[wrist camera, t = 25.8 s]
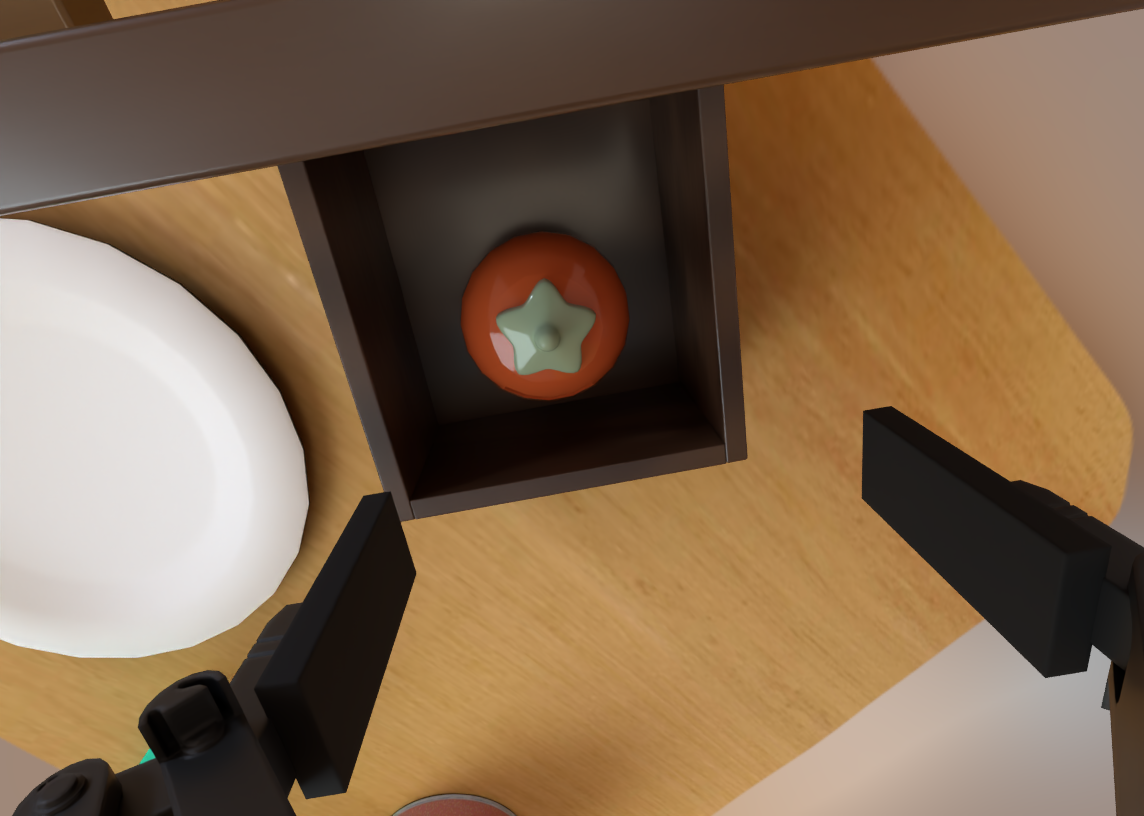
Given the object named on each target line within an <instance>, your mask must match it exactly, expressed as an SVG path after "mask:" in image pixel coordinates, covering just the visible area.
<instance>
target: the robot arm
mask: <svg viewBox="0 0 1144 816" xmlns="http://www.w3.org/2000/svg"><path fill="white" fill-rule="evenodd" d="M862 499H863V500H864V501H865V502H866V503H867V504H868V505H869V506H870V507H871V508H872V509H873V510H874V511H875V512H876V513H877V514H878V515H879V516H881V517H882V518H883V519H884V520H885V521H886V522H887V523H888V524H889V525H890V526H891V527H892V528H893V529H894V530H895V531H896V532H897V533H898V534H899V535H900V536H901V537H902V538H903V539H904V540H905V541H906V542H907V543H908V544H909V545H910V546H911V547H912V548H913V549H914V550H915V551H916V552H917V553H918V554H919V555H920V556H921V557H922V558H923V559H924V560H925V561H926V562H927V563H928V564H930V565H931V566H932V567H933V568H934V569H935V570H936V571H937V572H938V573H939V574H940V575H941V576H942V577H943V578H944V579H945V580H946V581H947V582H948V583H949V584H950V585H951V586H952V587H953V588H954V589H955V590H956V591H957V592H958V593H959V594H960V595H961V596H962V597H963V598H964V599H965V600H966V601H967V602H968V603H969V604H970V605H971V606H972V607H973V608H974V609H975V610H976V611H978V612H979V613H980V614H981V615H982V616H983V617H984V618H985V619H986V620H987V621H988V622H989V623H990V624H991V625H992V626H993V627H994V628H995V629H996V630H997V631H998V632H999V633H1000V634H1001V635H1002V636H1003V637H1004V638H1005V639H1006V640H1007V641H1008V642H1009V643H1010V644H1011V645H1012V646H1013V647H1014V648H1015V649H1016V650H1017V651H1018V652H1019V653H1020V654H1022V656H1023V657H1024V658H1025V659H1027V660H1028V661H1029V662H1030V663H1031V664H1032V665H1033V666H1034V667H1035V668H1036V669H1037V670H1038V671H1039V672H1040V673H1041V674H1042V675H1043V676H1044V677H1045V678H1048V677H1054V676H1060V675H1066V674H1073V673H1079V672H1084V671H1087V668H1088V663H1089V658H1090V652H1091V648H1092V645H1094V646H1095V647H1096V648H1097V649H1098V650H1100V651H1101V652H1102V653H1103V654H1104V655H1106V656H1107V657H1108V658H1109V659H1110V660H1111V665H1110V670H1109V674H1108V679H1107V683H1106V688H1105V692H1104V697H1103V702H1102V706H1101V708H1104V709H1107V710H1110V715H1111V733H1112V749H1113V766H1114V783H1115V800H1116V816H1144V547H1142V546H1141V545H1138V544H1137V543H1135V542H1134V541H1132V540H1131V539H1129V538H1127V537H1126V536H1124V535H1122V534H1121V533H1119V532H1117V531H1115V530H1114V529H1112V528H1110V527H1109V526H1107V525H1106V524H1104V523H1102V522H1101V521H1099V520H1097V519H1096V518H1094V517H1092V516H1088V515H1087V513H1086V512H1084V511H1083V510H1081V509H1079V508H1078V507H1076V506H1074V505H1072V506H1071V505H1070V503H1069V502H1068V501H1066V500H1064V499H1063V498H1061V497H1059V496H1058V495H1056V494H1054V493H1053V492H1051V491H1049V490H1047V489H1044V488H1042V487H1039V486H1036V485H1033V484H1030V483H1027V482H1024V481H1021V480H1018V481H1012V482H1010V481H1009V480H1007V479H1005V478H1004V477H1002V476H1001V475H999V474H998V473H996V472H994V471H993V470H991V469H990V468H988V467H986V466H985V465H983V464H982V463H980V462H979V461H977V460H975V459H974V458H972V457H971V456H969V455H968V454H966V453H964V452H963V451H961V450H960V449H958V448H957V447H955V446H953V445H952V444H950V443H949V442H947V441H945V440H944V439H942V438H941V437H939V436H938V435H936V434H934V433H933V432H931V431H930V430H928V429H927V428H925V427H923V426H922V425H920V424H919V423H917V422H916V421H914V420H912V419H911V418H909V417H908V416H906V415H904V414H903V413H901V412H900V411H898V410H897V409H895V408H893V407H892V406H889V407H883V408H877V409H871V410H865V411H863V459H862ZM415 576H416V570H415V567H414V564H413V561H412V557H411V554H410V551H409V548H408V545H407V541H406V538H405V535H404V532H403V529H402V526H401V522H400V519H399V516H398V513H397V510H396V506H395V503H394V500H393V497H392V494H391V491H389V492H383V493H378V494H372V495H366V496H363V498H362V499H361V501H360V503H359V505H358V506H357V508H356V510H355V512H354V513H353V515H352V517H351V519H350V520H349V522H348V524H347V526H346V527H345V529H344V531H343V533H342V534H341V536H340V538H339V540H338V541H337V543H336V545H335V547H334V548H333V550H332V552H331V554H330V556H329V557H328V559H327V561H326V563H325V564H324V566H323V568H322V570H321V571H320V573H319V575H318V577H317V578H316V580H315V582H314V584H313V585H312V587H311V589H310V591H309V592H308V594H307V596H306V598H305V599H304V601H303V602H302V603H296V604H290V605H286V606H285V607H284V608H283V609H282V610H281V611H280V612H279V613H278V614H276V615H275V616H274V617H273V618H272V619H271V620H270V621H269V622H268V623H267V625H266V626H265V628H264V629H263V631H262V633H261V634H260V636H259V637H258V639H257V644H254V645H253V647H252V649H251V650H250V652H249V653H248V655H247V656H248V658H247V659H245V660H244V661H243V663H242V665H241V666H240V668H239V669H238V671H237V673H236V674H235V676H234V678H233V679H232V681H231V682H230V684H229V682H228V680H227V678H226V676H225V675H223V674H222V673H221V672H220V671H211V670H207V671H203V672H198V673H194V674H191V675H189V676H187V677H185V678H183V679H181V680H178V681H176V682H175V683H173V684H172V685H170V686H169V687H167V688H166V689H164V690H163V691H162V692H160V693H159V694H158V695H157V696H156V697H155V698H154V699H153V700H152V701H151V702H150V703H149V704H148V705H147V706H146V708H145V709H144V711H143V713H142V714H141V716H140V717H139V725H138V729H139V730H140V732H141V734H142V735H143V737H144V739H145V740H146V742H147V744H148V746H149V747H150V749H151V751H152V752H153V754H154V756H155V757H156V758H154V759H151V760H149V761H147V762H144V763H142V764H139V765H137V766H134V767H132V768H129V769H127V770H125V771H122V772H120V773H117V774H114V772H113V771H112V769H111V767H110V766H109V764H108V763H107V762H105V761H104V760H102V759H100V758H97V759H86V760H83V761H80V762H77V763H74V764H71V765H69V766H67V767H66V768H64V769H62V770H60V771H58V772H57V773H55V774H53V775H51V776H50V777H49V778H47V779H46V780H45V781H44V782H42V783H41V784H39V785H38V786H37V787H36V788H34V789H33V790H32V791H31V792H30V793H29V795H28V796H27V797H26V798H25V799H24V800H23V801H22V802H21V803H20V804H19V805H18V807H17V808H16V810H15V812H14V814H13V815H12V816H296V814H295V812H294V810H293V808H292V806H291V804H290V803H289V801H288V799H287V798H288V795H289V793H290V791H291V788H292V786H293V783H294V781H295V778H296V779H297V781H298V783H299V785H300V788H301V790H302V792H303V794H304V796H305V798H306V799H310V798H316V797H322V796H328V795H334V794H340V793H346V792H347V788H348V785H349V782H350V779H351V776H352V773H353V770H354V767H355V763H356V760H357V757H358V754H359V751H360V748H361V745H362V742H363V739H364V735H365V732H366V729H367V726H368V723H369V720H370V717H371V714H372V710H373V707H374V704H375V701H376V698H377V695H378V692H379V689H380V685H381V682H382V679H383V676H384V673H385V670H386V667H387V664H388V660H389V657H390V654H391V651H392V648H393V645H394V642H395V639H396V635H397V632H398V629H399V626H400V623H401V620H402V617H403V614H404V611H405V607H406V604H407V601H408V598H409V595H410V592H411V589H412V586H413V582H414V579H415Z"/></svg>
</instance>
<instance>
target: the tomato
mask: <svg viewBox="0 0 1144 816" xmlns="http://www.w3.org/2000/svg"><path fill="white" fill-rule="evenodd" d="M629 322H630V314H629V308H628V301H627V294H626V289H625V287H624V285H623V283H622V281H621V279H620V277H619V275H618V273H617V271H616V269H615V267H614V265H613V264H612V263H611V262H610V261H609V260H608V259H607V258H606V257H605V256H604V255H603V254H602V253H601V252H600V251H599V250H598V249H597V248H596V247H595V246H593V245H591V244H589V243H587V242H585V241H583V240H581V239H579V238H577V237H575V236H573V235H571V234H566V233H559V232H552V231H544V230H540V231H535V232H530V233H525V234H520V235H515V236H513V237H511V238H509V239H508V240H506V241H504V242H502V243H501V244H499V245H497V246H495V247H494V248H492V249H490V250H489V251H488V253H487V254H486V255H485V256H484V257H483V258H482V260H481V261H480V262H479V263H478V264H477V265H476V266H475V268H474V269H473V270H472V272H471V274H470V277H469V279H468V282H467V284H466V286H465V289H464V291H463V294H462V300H461V317H460V325H461V329H462V333H463V337H464V341H465V345H466V349H467V352H468V353H469V355H470V356H471V358H472V360H473V361H474V363H475V364H476V366H477V367H478V369H479V370H480V372H481V373H482V374H483V375H484V376H485V377H487V378H488V379H489V380H490V381H491V382H492V383H494V384H495V385H496V386H497V387H498V388H500V389H501V390H503V391H506V392H508V393H511V394H513V395H515V396H518V397H520V398H523V399H528V400H537V401H547V402H551V401H556V400H561V399H566V398H571V397H575V396H577V395H578V394H580V393H582V392H584V391H586V390H588V389H590V388H592V387H594V386H595V385H597V384H598V383H599V382H600V381H601V380H602V379H603V378H604V377H605V376H606V375H607V374H608V373H609V372H610V371H611V370H612V369H613V368H614V366H615V364H616V362H617V360H618V358H619V357H620V355H621V353H622V351H623V349H624V347H625V345H626V340H627V334H628V328H629Z"/></svg>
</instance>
